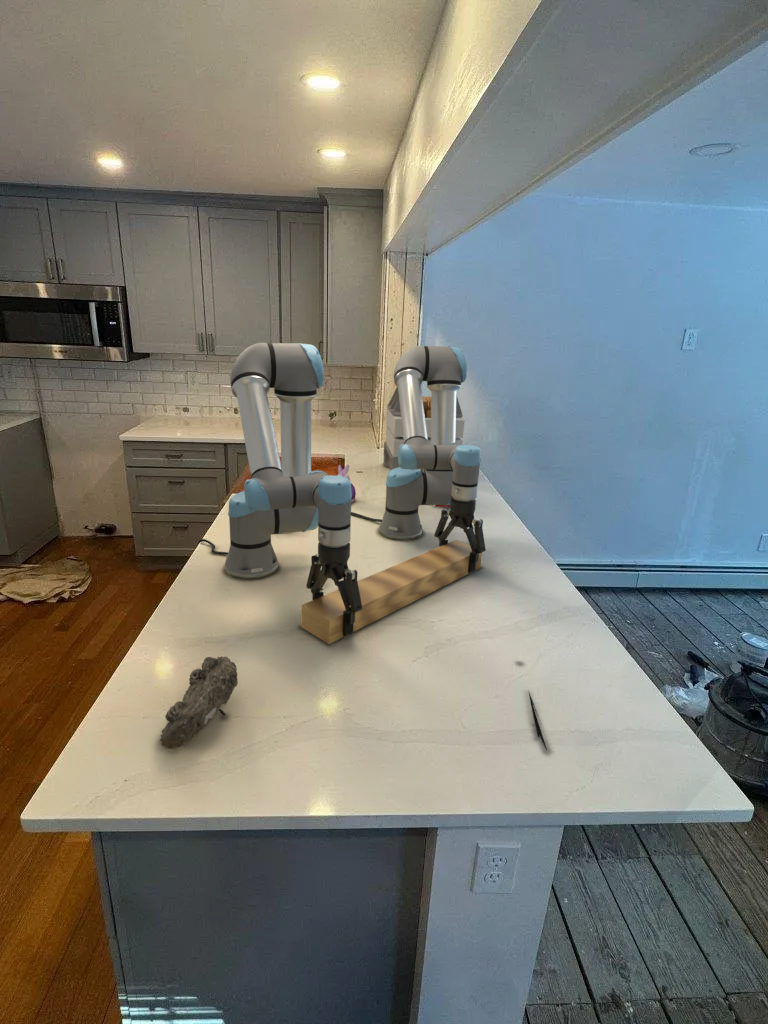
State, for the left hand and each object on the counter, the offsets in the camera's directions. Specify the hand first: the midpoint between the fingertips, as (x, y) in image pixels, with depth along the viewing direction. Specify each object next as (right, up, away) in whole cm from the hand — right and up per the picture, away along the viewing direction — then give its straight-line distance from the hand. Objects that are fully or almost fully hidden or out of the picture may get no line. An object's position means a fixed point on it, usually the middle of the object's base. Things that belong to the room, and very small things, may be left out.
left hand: (332, 624), depth 140 cm
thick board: (+18, +5, +18) cm, 26 cm away
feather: (+43, -11, -24) cm, 50 cm away
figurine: (-3, +32, +91) cm, 96 cm away
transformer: (+30, +47, +135) cm, 146 cm away
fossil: (-22, -11, -31) cm, 39 cm away
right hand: (+35, +11, +36) cm, 51 cm away
